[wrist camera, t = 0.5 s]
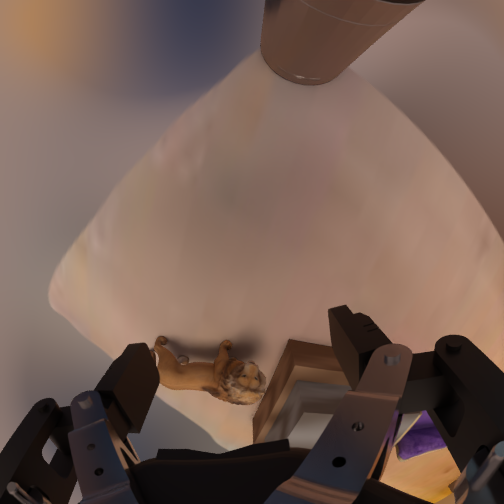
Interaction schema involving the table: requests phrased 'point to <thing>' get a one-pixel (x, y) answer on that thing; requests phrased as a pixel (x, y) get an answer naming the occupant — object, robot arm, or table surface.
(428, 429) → the toy sofa
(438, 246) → the table surface
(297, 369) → the wooden box
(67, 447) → the robot arm
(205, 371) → the lion figurine
